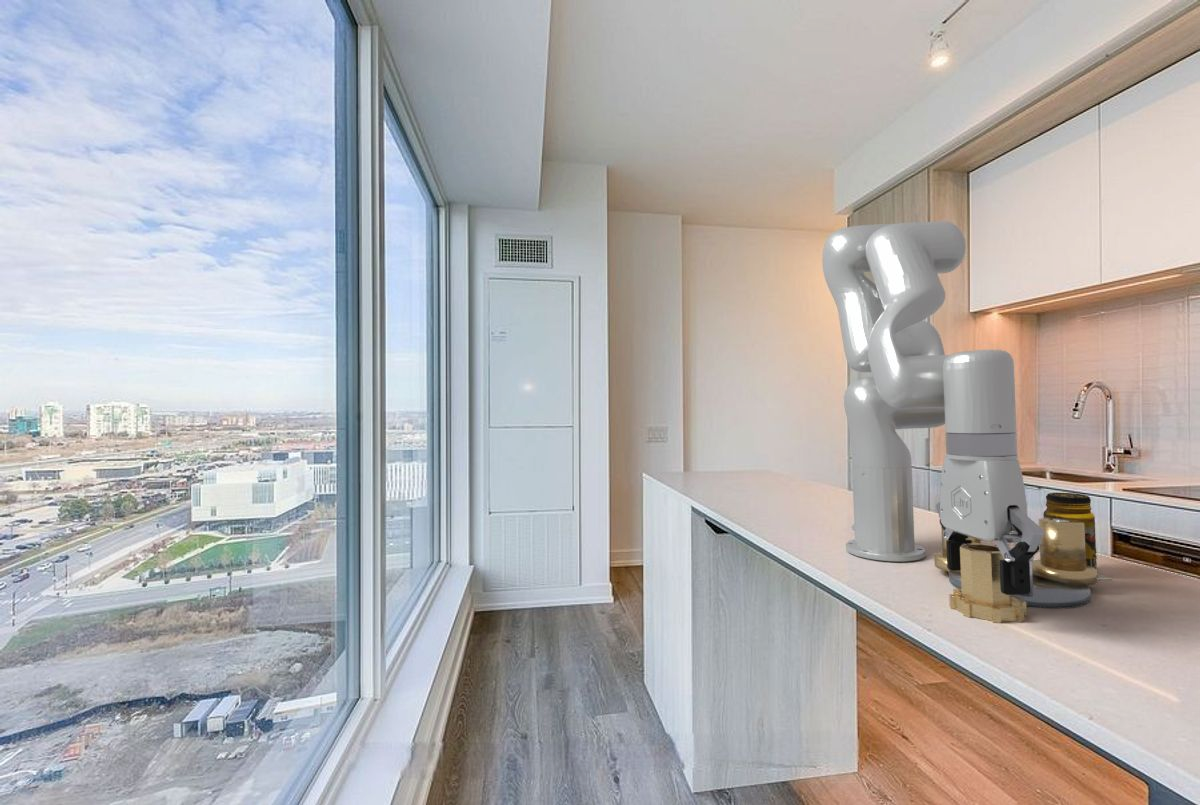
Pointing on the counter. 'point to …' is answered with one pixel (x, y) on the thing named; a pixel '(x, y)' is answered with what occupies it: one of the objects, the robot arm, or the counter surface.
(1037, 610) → the counter surface
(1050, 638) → the counter surface
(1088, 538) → the condiment
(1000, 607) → the gold hollow octagonal piece
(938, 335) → the robot arm
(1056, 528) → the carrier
